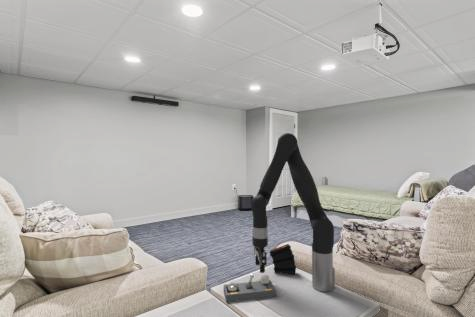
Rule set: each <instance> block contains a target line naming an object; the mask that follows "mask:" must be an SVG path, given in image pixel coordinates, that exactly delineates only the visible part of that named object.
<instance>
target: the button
mask: <svg viewBox="0 0 475 317" xmlns="http://www.w3.org/2000/svg"><path fill="white" fill-rule="evenodd" d="M231 292H238V285H237V283H235V282H234V283H233V282H231V283H229V285H228V293H231Z"/></svg>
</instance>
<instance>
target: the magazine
mask: <svg viewBox="0 0 475 317" xmlns="http://www.w3.org/2000/svg"><path fill="white" fill-rule="evenodd" d="M269 256H270V258H271V259H272V264H273V271H274V273H275V274H285V275H290V276H296V272H297V271H296V270H297V265H296V260H295V254H293V251H292V249H291V245H289V243H287V244H284V245H282V246H278V247H276V248H274V249H271V250H270V251H269Z"/></svg>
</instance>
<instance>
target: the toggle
mask: <svg viewBox="0 0 475 317" xmlns="http://www.w3.org/2000/svg"><path fill="white" fill-rule="evenodd" d="M254 277H255V276H254V274H253V273H252V274H250V277H249V280H248V282H249V283H248V284H251V282H253V281H252V280H253V278H254Z"/></svg>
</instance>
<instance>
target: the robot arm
mask: <svg viewBox="0 0 475 317" xmlns="http://www.w3.org/2000/svg"><path fill="white" fill-rule="evenodd" d="M286 163H287V164H288V167H289V168H288V170H289V172H290V176H291V179H292V180H291V181H292V183H293V185H294V188H295V190H296V193H297V194H298V197H299V199H300V201H301V202H302V204H303V206H304V208H305V210H306V213H307V216H308V220H309V222H310V227H311V229H312V244H311V270H312V271H311V277H312V278H311V281H312V284H311V286H312V287H313V289H315V290H317V291H319V292H322V293H323V292H328V293H329V292H331V291H332V290H334V289H336V286H335V284H336V281H335V280H336V278H335V276H336V271H335V270H336V268H335V267H334V265H333V264H334V263H333V262H334V257H333V255H334V252H333V251H334V250H333V249H334V245H335V227H334V224H333V222H332V221H331V220H330V218H329V217H328V216H327V214H326V212H325V211H324V208H323V206H322V203H321V200H320V197H319V191H318V188H317V185H316V183H315V180H314V177H313V175H312V173H311V171H310V169H309V168H308V166H307V164H306V163H305V161H304V159H303V157H302V154H301V151H300V149H299V144H298V138H297V137H296V136H295V135H294V134H293V133H289V132H287V133H286V132H285V133H282V134H281V135H280V136H279V137H278V139H277V144H276V149H275V151H274V155H273V157H272V160H271V162H270V164H269V166H268V168H267V169H266V172H265V174H264V175H263V178H262V181H261V183H260V185H259V190H258V191H257V194H256V196H254V197H253V199H252V202H251V211H252V217H253V218H252V235H251V236H252V240H251V241H252V242H251V243H252V246H253V254H254V257H255V259H254V260H255V265H256V266H259V273H261V274H262V273H264V274H265V272H266V270H265V269H266V266H267V265H268V264H267V262H268V261H267V252H266V250H265V248H266V247H268V245H269V233H268V232H269V230H268V216H267V207H268V204H269V202H270V200H271V197H272V194H273V192H274V191H275V189H276V187H277V185H278V182H279V180H280V178H281V175H282V172H283V170H284V167H285V165H286Z"/></svg>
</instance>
